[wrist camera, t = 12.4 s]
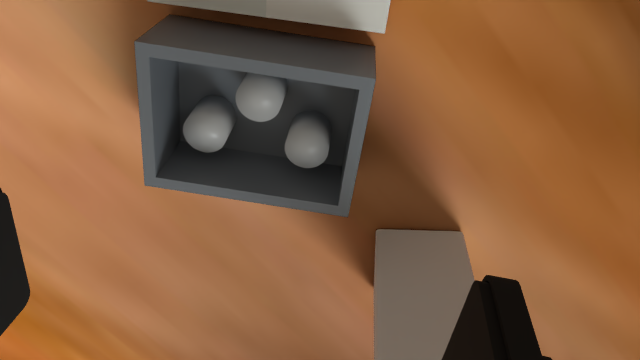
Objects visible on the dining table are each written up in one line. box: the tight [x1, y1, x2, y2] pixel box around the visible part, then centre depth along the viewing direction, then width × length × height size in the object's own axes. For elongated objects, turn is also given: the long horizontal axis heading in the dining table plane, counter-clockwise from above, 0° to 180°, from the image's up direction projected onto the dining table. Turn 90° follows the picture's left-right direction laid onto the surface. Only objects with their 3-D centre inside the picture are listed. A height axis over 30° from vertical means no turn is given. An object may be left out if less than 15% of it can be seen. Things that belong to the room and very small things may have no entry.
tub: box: [134, 14, 376, 217], centre depth 34 cm, size 14×10×6 cm
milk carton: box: [374, 229, 475, 360], centre depth 36 cm, size 7×7×19 cm
